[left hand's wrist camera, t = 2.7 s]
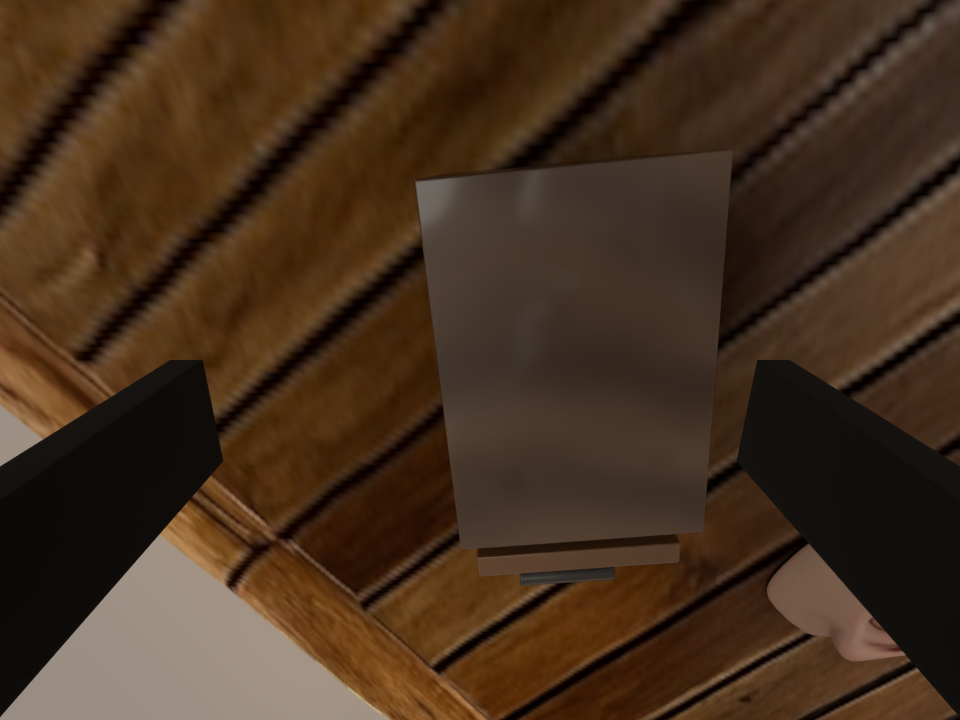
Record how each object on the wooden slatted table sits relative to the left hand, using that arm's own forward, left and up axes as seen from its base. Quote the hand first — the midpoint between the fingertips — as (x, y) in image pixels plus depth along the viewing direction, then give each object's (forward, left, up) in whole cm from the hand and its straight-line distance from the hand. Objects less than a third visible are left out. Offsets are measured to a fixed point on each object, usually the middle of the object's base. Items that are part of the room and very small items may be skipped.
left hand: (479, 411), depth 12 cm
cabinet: (-1, +5, -19) cm, 19 cm away
